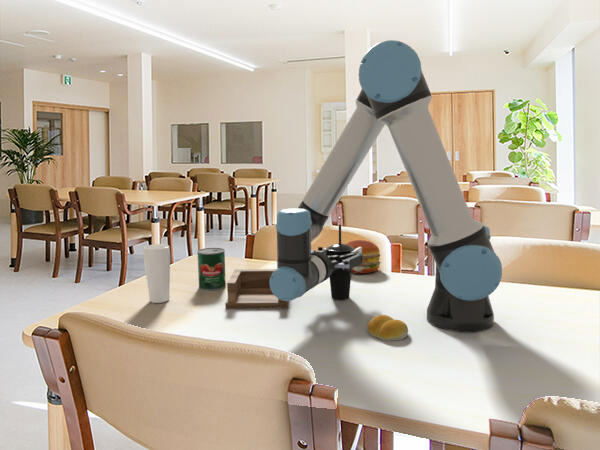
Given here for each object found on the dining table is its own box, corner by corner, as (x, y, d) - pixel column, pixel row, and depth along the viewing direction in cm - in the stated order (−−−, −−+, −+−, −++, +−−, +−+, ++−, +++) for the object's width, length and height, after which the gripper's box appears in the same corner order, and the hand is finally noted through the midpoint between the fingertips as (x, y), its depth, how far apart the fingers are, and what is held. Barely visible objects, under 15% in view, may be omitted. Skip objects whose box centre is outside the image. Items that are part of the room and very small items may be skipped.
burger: (379, 276, 163) (380, 245, 161) (336, 275, 166) (336, 244, 164) (380, 266, 176) (381, 237, 175) (340, 265, 179) (340, 236, 177)
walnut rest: (287, 308, 134) (287, 283, 133) (225, 308, 134) (224, 284, 133) (289, 290, 150) (289, 268, 149) (234, 290, 150) (233, 268, 149)
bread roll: (392, 345, 110) (392, 327, 110) (361, 333, 117) (361, 316, 116) (416, 335, 116) (416, 318, 115) (385, 324, 122) (385, 308, 122)
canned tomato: (206, 292, 149) (204, 254, 147) (194, 286, 155) (192, 250, 153) (230, 287, 153) (229, 250, 152) (218, 281, 160) (216, 246, 158)
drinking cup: (338, 291, 148) (338, 221, 145) (360, 296, 143) (360, 224, 140) (320, 297, 143) (319, 225, 140) (341, 303, 137) (341, 228, 134)
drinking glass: (177, 300, 142) (174, 246, 139) (155, 306, 137) (151, 250, 134) (163, 295, 146) (160, 243, 144) (141, 301, 142) (138, 246, 139)
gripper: (275, 280, 130) (313, 260, 150) (352, 289, 121) (381, 267, 141) (275, 250, 129) (313, 234, 149) (352, 258, 120) (382, 240, 140)
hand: (346, 250), depth 145 cm, fingers closed on drinking cup, 7 cm apart
